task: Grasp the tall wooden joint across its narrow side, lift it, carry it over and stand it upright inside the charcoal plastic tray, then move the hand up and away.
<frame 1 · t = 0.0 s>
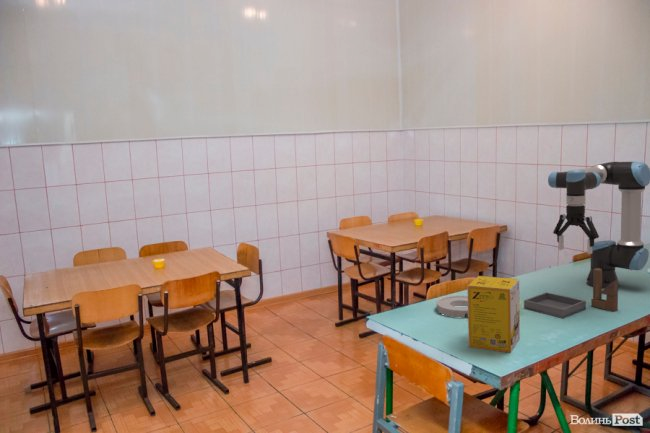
hand: (575, 251, 248), 28 cm above the table, tool pointing down, fingers open, 13 cm apart
packaging box: (494, 343, 221), on the table
ashtray: (461, 311, 263), on the table
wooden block: (604, 308, 254), on the table
tray: (554, 308, 257), on the table
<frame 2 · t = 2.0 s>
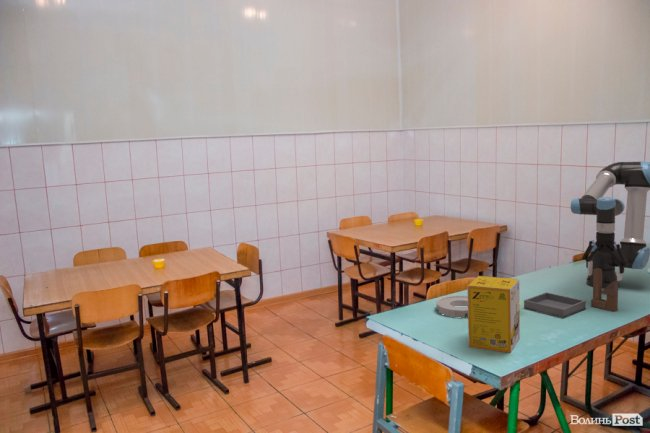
hand: (604, 277, 251), 15 cm above the table, tool pointing down, fingers open, 13 cm apart
nothing on the table moved.
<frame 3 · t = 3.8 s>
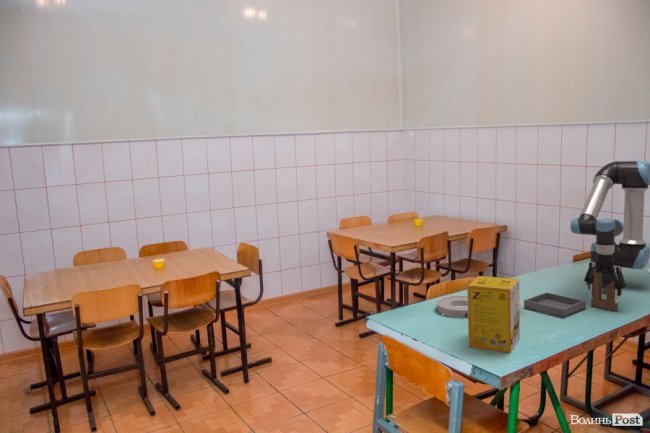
hand: (604, 299, 253), 4 cm above the table, tool pointing down, fingers closed on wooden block, 11 cm apart
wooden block: (604, 308, 254), on the table, touching gripper
everything else where it was.
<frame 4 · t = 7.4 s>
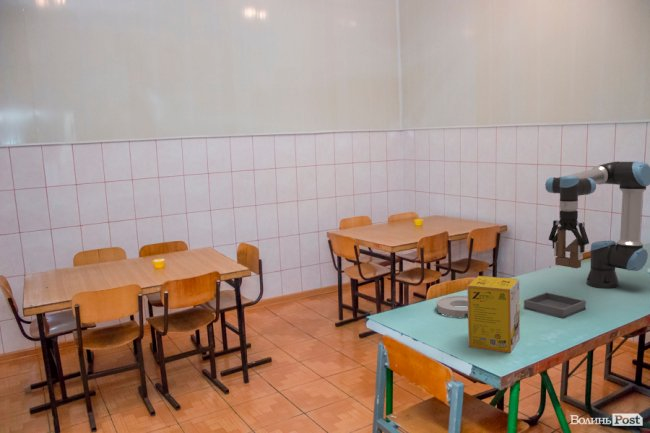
hand: (568, 257, 252), 24 cm above the table, tool pointing down, fingers closed on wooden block, 11 cm apart
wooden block: (568, 266, 253), point 20 cm above the table, touching gripper
everything else where it was.
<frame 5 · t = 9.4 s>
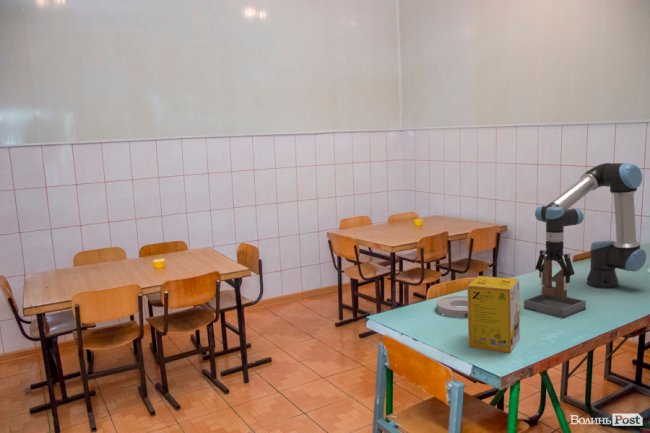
hand: (554, 287, 255), 10 cm above the table, tool pointing down, fingers closed on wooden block, 11 cm apart
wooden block: (554, 296, 256), point 6 cm above the table, touching gripper
everything else where it was.
when the fingers open (6 cm above the table, at t = 10.8 s): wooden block drops 1 cm, resting on tray.
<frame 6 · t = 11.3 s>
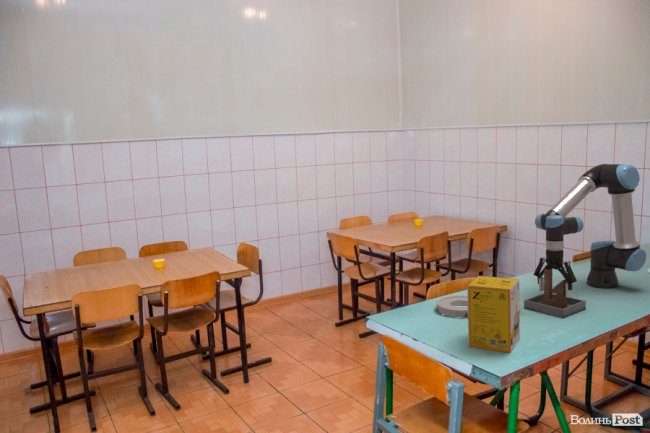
hand: (554, 293, 256), 7 cm above the table, tool pointing down, fingers open, 13 cm apart
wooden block: (554, 307, 257), point 1 cm above the table, touching tray
everything else where it was.
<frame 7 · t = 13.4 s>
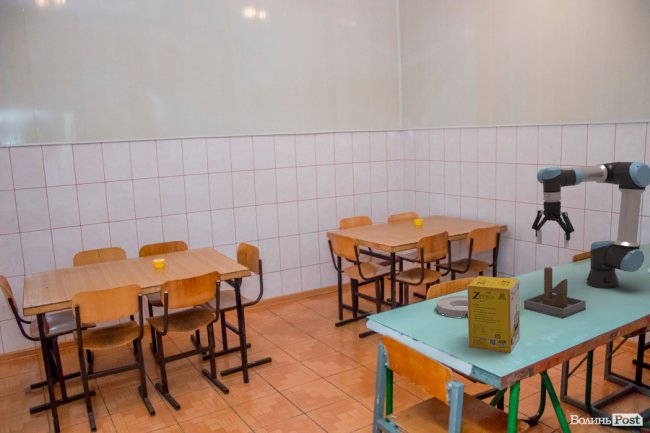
hand: (552, 245, 259), 29 cm above the table, tool pointing down, fingers open, 13 cm apart
nothing on the table moved.
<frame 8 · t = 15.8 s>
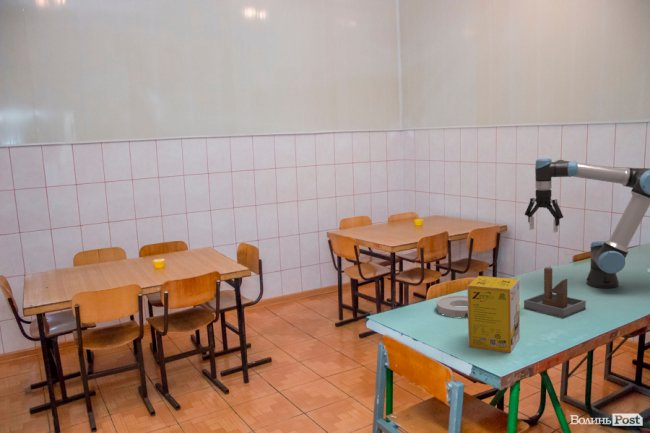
hand: (543, 230, 281), 32 cm above the table, tool pointing down, fingers open, 13 cm apart
nothing on the table moved.
at the end: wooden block inside the target area on the tray (0.1 cm from its centre), point 0.8 cm above the tray's base; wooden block tilted 0°; the gripper is holding nothing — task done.
